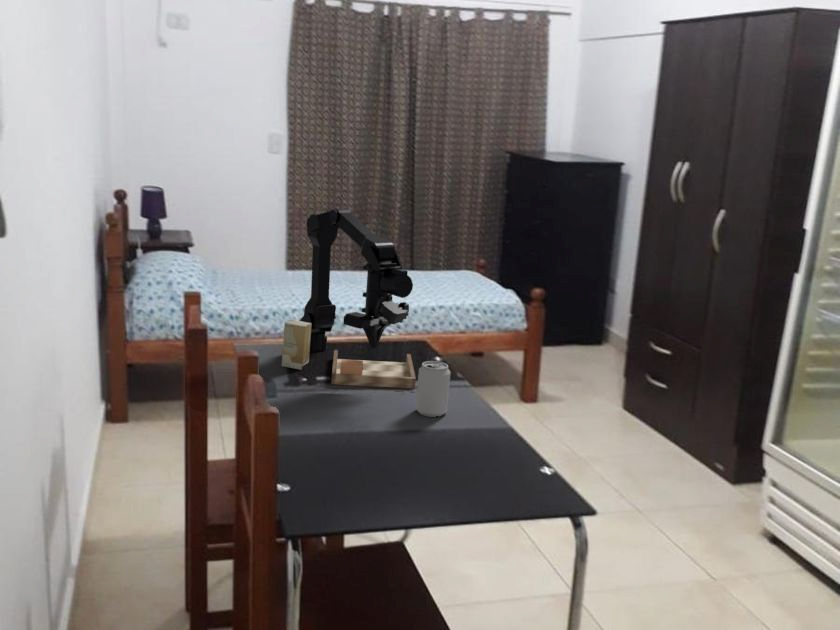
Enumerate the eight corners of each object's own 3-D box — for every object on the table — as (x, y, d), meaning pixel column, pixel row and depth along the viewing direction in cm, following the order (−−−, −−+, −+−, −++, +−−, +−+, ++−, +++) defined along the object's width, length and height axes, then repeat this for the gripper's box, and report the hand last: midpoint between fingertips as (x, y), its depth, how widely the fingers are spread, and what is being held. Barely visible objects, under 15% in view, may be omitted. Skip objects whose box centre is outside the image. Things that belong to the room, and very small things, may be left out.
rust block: (339, 382, 215) (340, 365, 214) (340, 376, 220) (341, 359, 219) (361, 384, 215) (362, 367, 214) (361, 377, 221) (362, 360, 220)
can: (410, 408, 204) (414, 360, 202) (438, 406, 208) (442, 358, 205) (423, 419, 198) (427, 369, 195) (452, 416, 201) (456, 367, 198)
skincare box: (281, 366, 229) (282, 322, 226) (288, 362, 233) (290, 319, 230) (303, 370, 227) (305, 325, 224) (309, 366, 231) (312, 322, 228)
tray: (331, 388, 214) (331, 374, 213) (333, 363, 235) (334, 350, 235) (414, 392, 216) (415, 378, 215) (409, 366, 237) (410, 354, 236)
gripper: (377, 300, 207) (373, 361, 211) (424, 291, 222) (420, 349, 225) (343, 291, 214) (340, 351, 218) (391, 283, 228) (387, 340, 232)
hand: (373, 348), depth 223 cm, fingers closed
